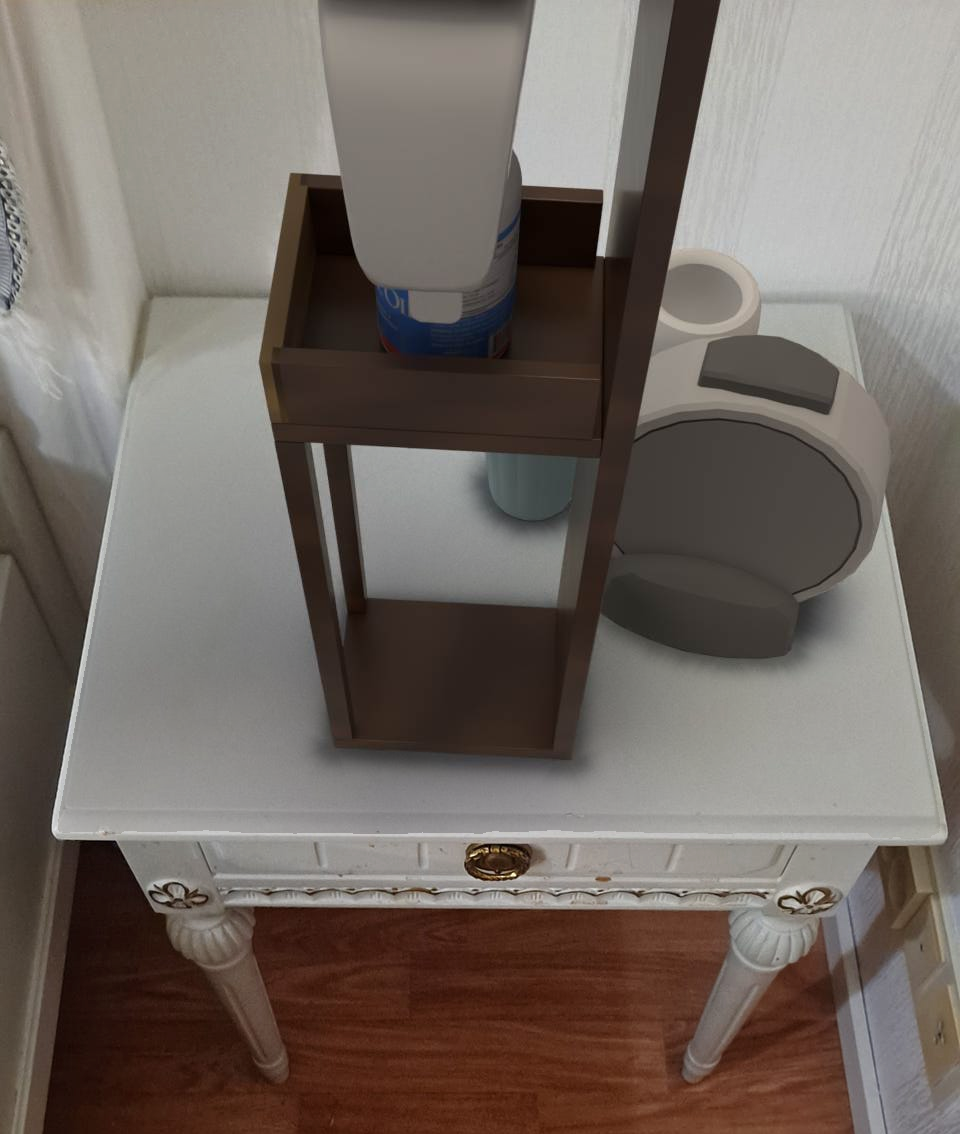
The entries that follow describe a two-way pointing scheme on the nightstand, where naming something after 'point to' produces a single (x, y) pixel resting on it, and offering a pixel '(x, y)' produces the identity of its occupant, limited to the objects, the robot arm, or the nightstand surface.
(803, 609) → the nightstand surface
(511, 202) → the pill bottle
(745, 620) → the alarm clock
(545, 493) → the cup
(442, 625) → the rack
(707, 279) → the mug
